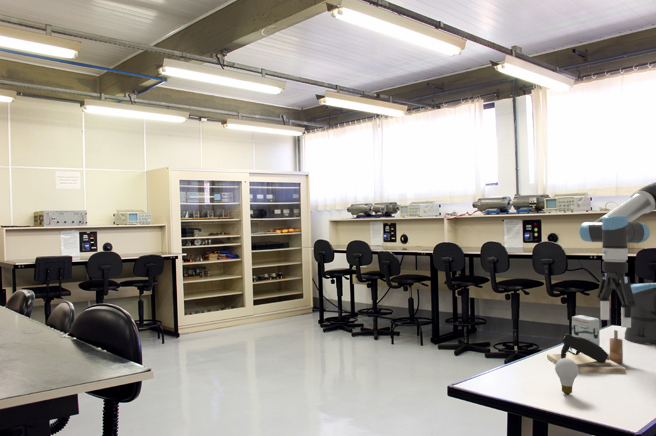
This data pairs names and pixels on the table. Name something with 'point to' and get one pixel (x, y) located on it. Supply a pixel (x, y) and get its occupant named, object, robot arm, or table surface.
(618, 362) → the awl
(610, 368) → the board
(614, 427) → the table surface
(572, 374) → the light bulb
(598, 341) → the ink box
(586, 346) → the gun
